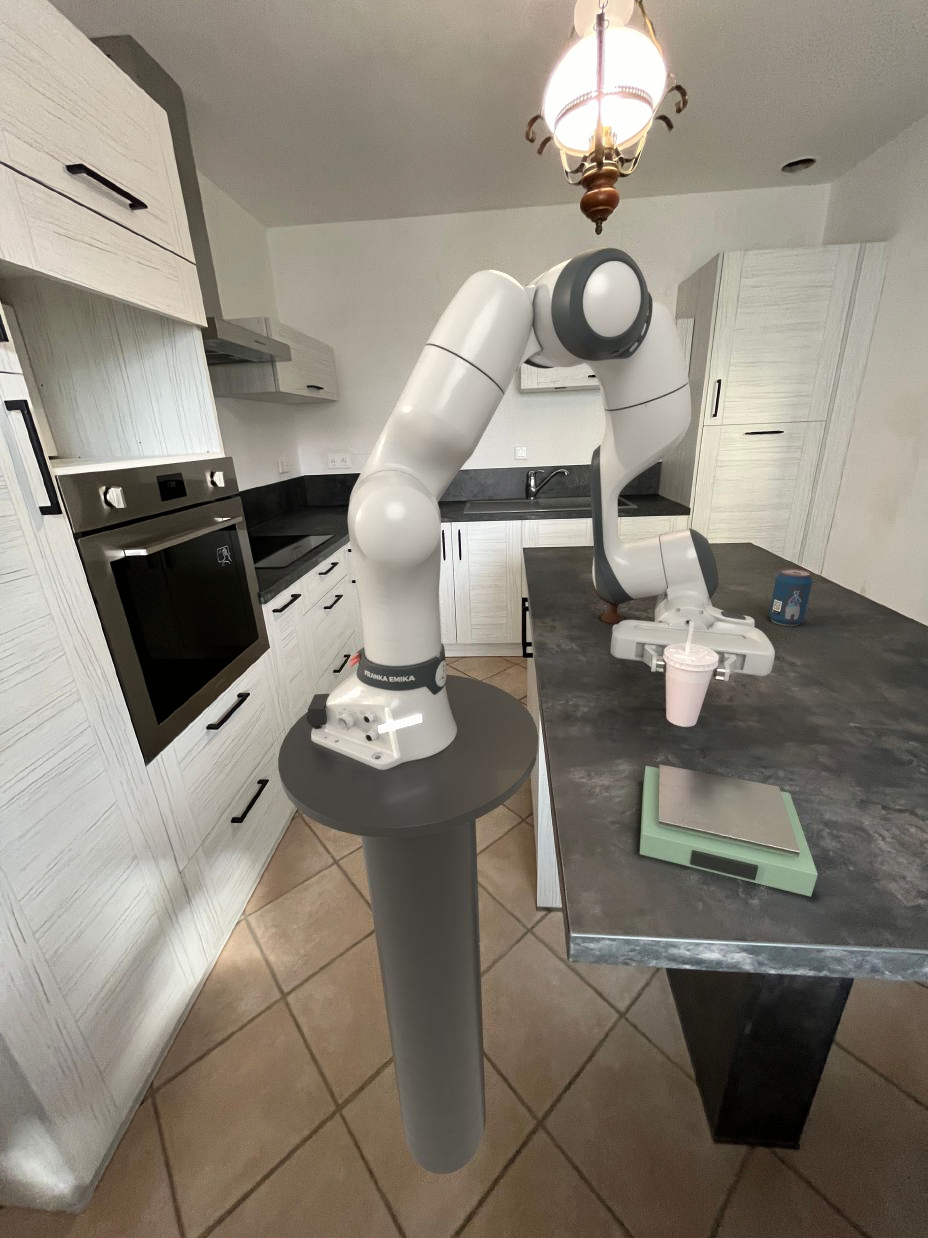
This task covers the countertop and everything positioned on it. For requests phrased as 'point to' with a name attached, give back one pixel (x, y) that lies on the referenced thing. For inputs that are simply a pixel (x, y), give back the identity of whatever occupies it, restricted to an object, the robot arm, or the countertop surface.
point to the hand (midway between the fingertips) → (689, 671)
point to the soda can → (790, 597)
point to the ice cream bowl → (612, 615)
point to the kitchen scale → (726, 849)
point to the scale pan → (725, 810)
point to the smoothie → (687, 679)
